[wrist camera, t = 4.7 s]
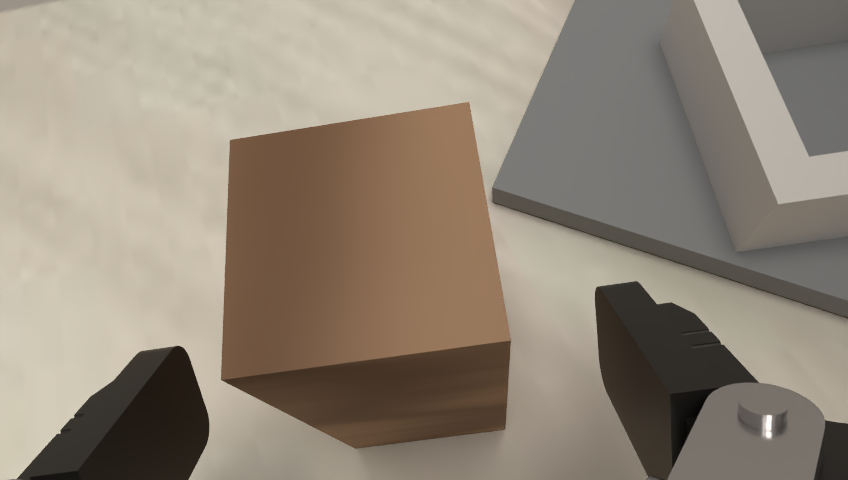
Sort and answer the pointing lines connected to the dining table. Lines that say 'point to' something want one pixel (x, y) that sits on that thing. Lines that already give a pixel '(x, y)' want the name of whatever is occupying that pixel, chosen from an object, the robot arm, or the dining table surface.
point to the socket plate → (649, 155)
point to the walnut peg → (366, 279)
